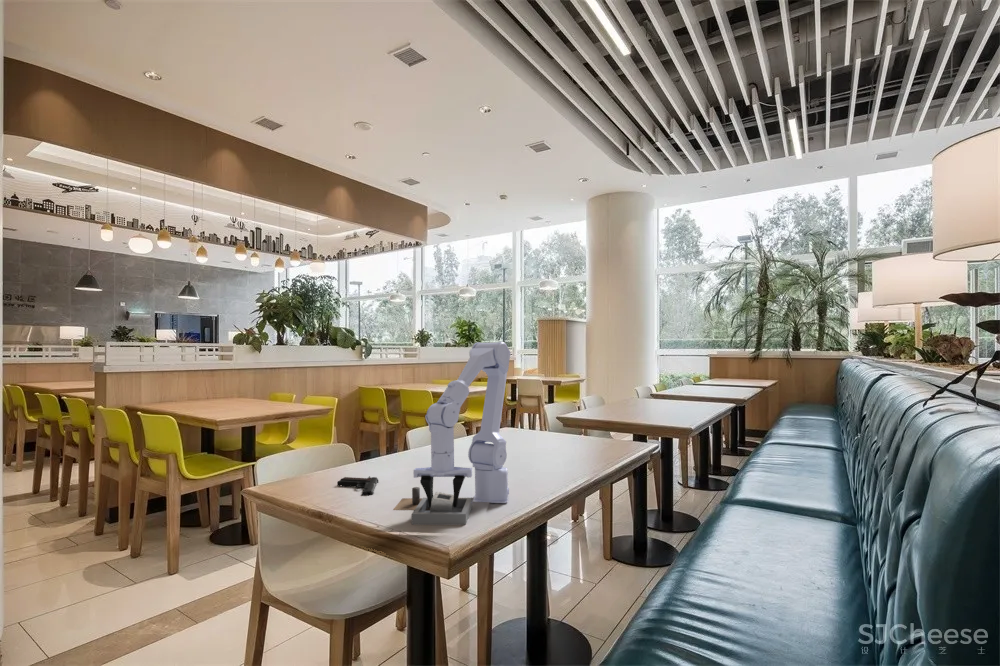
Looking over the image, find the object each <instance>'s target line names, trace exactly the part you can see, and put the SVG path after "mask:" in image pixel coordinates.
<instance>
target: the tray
mask: <svg viewBox="0 0 1000 666" xmlns="http://www.w3.org/2000/svg"><path fill="white" fill-rule="evenodd" d="M422 498H423V499H422V500H421V501H420V503H419V504H418V506H417V507H416V509H415V510H412V513H411V525H431V526H432V525H435V526H436V525H437V526H438V525H443V526H444V525H447V526H449V525H454V526H457V525H460V526H461V525H463V526H466V525H467V522H468V520H469V517H470V515H471V511H472V510H473V509H472V508H473V502H472V501H473V498H472V497H458V504H457V507H454V510H453V512H430V510H426V509H427V508H431V507H429V503H428V499H427V497H422Z"/></svg>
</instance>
